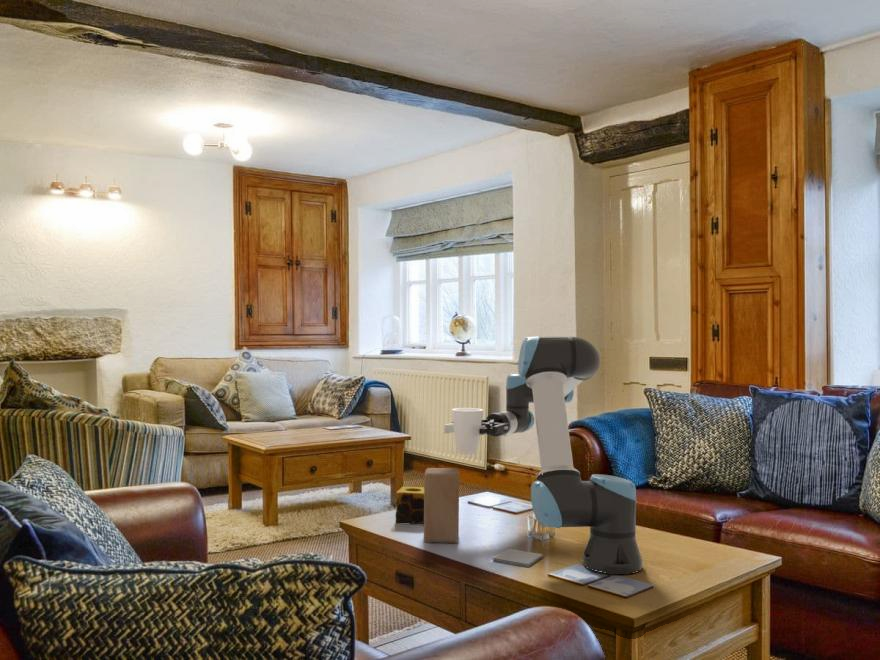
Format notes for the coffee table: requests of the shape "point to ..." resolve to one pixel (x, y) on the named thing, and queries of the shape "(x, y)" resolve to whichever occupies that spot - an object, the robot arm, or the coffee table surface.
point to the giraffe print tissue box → (410, 505)
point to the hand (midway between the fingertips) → (458, 430)
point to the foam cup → (466, 429)
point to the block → (441, 505)
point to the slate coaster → (518, 557)
